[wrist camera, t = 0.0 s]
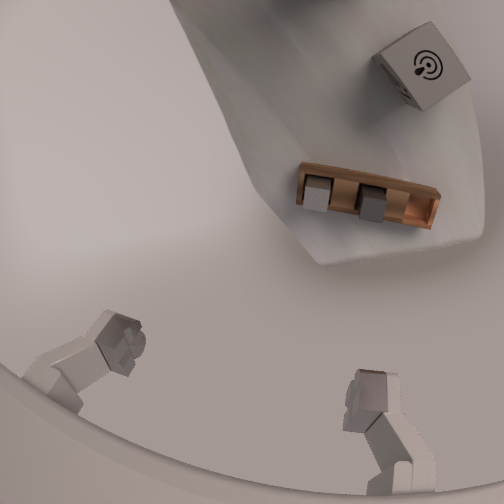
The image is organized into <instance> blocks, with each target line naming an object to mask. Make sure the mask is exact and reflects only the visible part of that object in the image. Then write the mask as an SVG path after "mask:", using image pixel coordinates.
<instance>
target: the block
mask: <svg viewBox="0 0 504 504" xmlns="http://www.w3.org/2000/svg"><path fill="white" fill-rule="evenodd" d="M386 205H387V199H386V196H385V193H384V190H383V188H382V187H379V186H374V185H369V184H364V183H360V188H359V193H358V198H357V207H358V215H359V219H364V220H369V221H374V222H380V223H382V220H383V217H384V213H385V209H386Z"/></svg>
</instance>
